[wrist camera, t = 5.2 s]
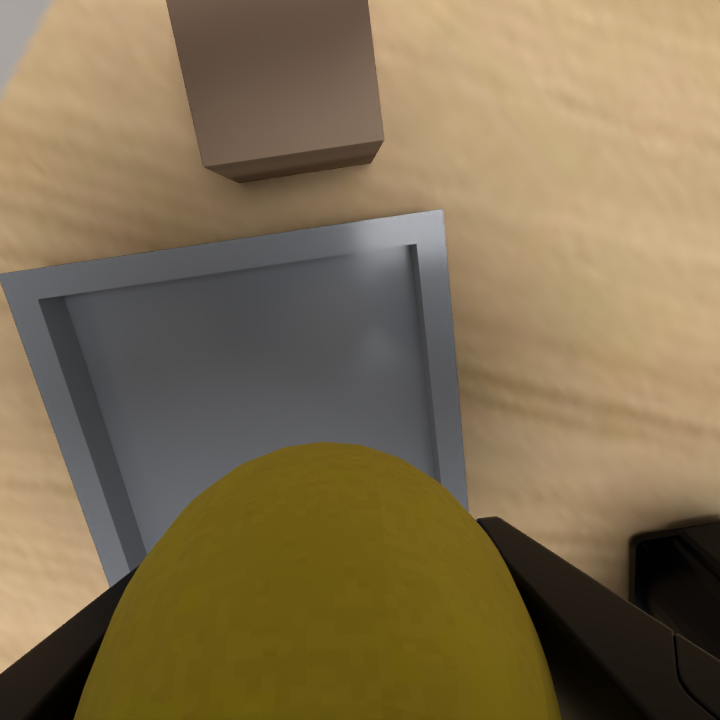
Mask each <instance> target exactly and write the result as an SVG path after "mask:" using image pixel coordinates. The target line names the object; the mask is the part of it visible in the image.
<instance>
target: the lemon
mask: <svg viewBox="0 0 720 720" xmlns="http://www.w3.org/2000/svg"><path fill="white" fill-rule="evenodd" d="M73 720H562V719H561V714H560V709H559V705H558V700H557V696H556V692H555V688H554V685H553V681H552V677H551V674H550V670H549V667H548V663H547V660H546V657H545V654H544V651H543V648H542V645H541V643H540V640H539V637H538V634H537V632H536V629H535V627H534V625H533V622H532V620H531V618H530V615H529V613H528V611H527V608H526V606H525V604H524V602H523V600H522V598H521V595H520V593H519V591H518V589H517V587H516V584H515V582H514V580H513V578H512V576H511V574H510V571H509V569H508V567H507V566H506V564H505V562H504V560H503V558H502V556H501V555H500V553H499V551H498V549H497V548H496V546H495V545H494V543H493V542H492V541H491V539H490V538H489V536H488V535H487V533H486V532H485V531H484V530H483V529H482V527H481V526H480V525H479V524H478V523H477V522H476V520H475V519H474V518H473V517H472V516H471V515H470V514H469V513H468V512H467V511H466V509H465V508H464V507H463V506H462V505H461V504H460V503H459V502H458V501H457V499H456V498H455V497H454V496H453V495H452V494H451V493H450V492H449V491H448V490H447V489H446V488H445V487H444V486H443V485H441V484H440V483H439V482H438V481H436V480H435V479H433V478H432V477H430V476H428V475H427V474H425V473H424V472H422V471H421V470H419V469H417V468H416V467H414V466H413V465H411V464H410V463H408V462H406V461H405V460H403V459H401V458H399V457H397V456H394V455H391V454H388V453H385V452H382V451H379V450H376V449H373V448H370V447H367V446H364V445H358V444H346V443H334V442H316V443H309V444H303V445H296V446H289V447H283V448H281V449H278V450H276V451H273V452H270V453H268V454H265V455H263V456H260V457H258V458H255V459H253V460H250V461H248V462H245V463H243V464H241V465H239V466H238V467H236V468H235V469H233V470H232V471H231V472H229V473H228V474H226V475H225V476H224V477H222V478H221V479H219V480H218V481H217V482H215V483H214V484H212V485H211V486H210V487H208V488H207V489H205V490H204V491H203V492H202V493H201V494H199V495H198V496H197V497H196V498H194V499H193V500H192V501H191V502H190V503H189V504H188V506H187V507H186V508H185V509H184V510H183V511H182V512H181V513H180V514H179V516H178V517H177V518H176V519H175V521H174V522H173V523H172V524H171V526H170V527H169V528H168V529H167V531H166V532H165V533H164V534H163V536H162V537H161V538H160V539H159V541H158V542H157V543H156V544H155V545H154V547H153V548H152V549H151V551H150V552H149V553H148V555H147V556H146V557H145V559H144V560H143V561H142V563H141V564H140V566H139V567H138V569H137V570H136V572H135V574H134V575H133V577H132V579H131V580H130V582H129V584H128V585H127V587H126V589H125V591H124V593H123V595H122V597H121V599H120V601H119V603H118V605H117V607H116V609H115V611H114V614H113V616H112V619H111V621H110V624H109V626H108V629H107V631H106V634H105V636H104V639H103V641H102V644H101V646H100V649H99V651H98V654H97V656H96V659H95V661H94V664H93V666H92V669H91V671H90V674H89V676H88V679H87V681H86V684H85V686H84V689H83V692H82V695H81V698H80V701H79V704H78V707H77V710H76V713H75V716H74V719H73Z"/></svg>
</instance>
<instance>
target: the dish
mask: <svg viewBox="0 0 720 720" xmlns="http://www.w3.org/2000/svg"><path fill="white" fill-rule="evenodd" d="M0 282H1V285H2V287H3V290H4V293H5V296H6V299H7V301H8V304H9V307H10V310H11V312H12V315H13V318H14V321H15V324H16V326H17V329H18V332H19V335H20V338H21V340H22V343H23V346H24V349H25V352H26V354H27V357H28V360H29V363H30V366H31V368H32V371H33V374H34V377H35V379H36V382H37V385H38V388H39V391H40V393H41V396H42V399H43V402H44V405H45V407H46V410H47V413H48V416H49V419H50V421H51V424H52V427H53V430H54V433H55V435H56V438H57V441H58V444H59V446H60V449H61V452H62V455H63V458H64V460H65V463H66V466H67V469H68V472H69V474H70V477H71V480H72V483H73V486H74V488H75V491H76V494H77V497H78V500H79V502H80V505H81V508H82V511H83V513H84V516H85V519H86V522H87V525H88V527H89V530H90V533H91V536H92V539H93V541H94V544H95V547H96V550H97V553H98V555H99V558H100V561H101V564H102V567H103V569H104V572H105V575H106V578H107V580H108V583H109V586H110V587H112V586H113V585H114V584H115V583H117V582H118V581H119V580H121V579H122V578H123V577H124V576H126V575H127V574H128V573H129V572H131V571H132V570H133V569H135V568H136V567H137V566H138V565H140V564H141V563H142V561H143V560H144V559H145V557H146V556H147V555H148V553H149V552H150V551H151V549H152V548H153V547H154V545H155V544H156V543H157V542H158V541H159V539H160V538H161V537H162V536H163V534H164V533H165V532H166V531H167V529H168V528H169V527H170V526H171V524H172V523H173V522H174V521H175V519H176V518H177V517H178V516H179V514H180V513H181V512H182V511H183V510H184V509H185V508H186V507H187V506H188V504H189V503H190V502H191V501H192V500H193V499H194V498H196V497H197V496H198V495H199V494H201V493H202V492H203V491H204V490H205V489H207V488H208V487H210V486H211V485H212V484H214V483H215V482H217V481H218V480H219V479H221V478H222V477H224V476H225V475H226V474H228V473H229V472H231V471H232V470H233V469H235V468H236V467H238V466H239V465H241V464H243V463H245V462H248V461H250V460H253V459H255V458H258V457H260V456H263V455H265V454H268V453H270V452H273V451H276V450H278V449H281V448H283V447H289V446H296V445H303V444H309V443H316V442H334V443H346V444H358V445H364V446H367V447H370V448H373V449H376V450H379V451H382V452H385V453H388V454H391V455H394V456H397V457H399V458H401V459H403V460H405V461H406V462H408V463H410V464H411V465H413V466H414V467H416V468H417V469H419V470H421V471H422V472H424V473H425V474H427V475H428V476H430V477H432V478H433V479H435V480H436V481H438V482H439V483H440V484H441V485H443V486H444V487H445V488H446V489H447V490H448V491H449V492H450V493H451V494H452V495H453V496H454V497H455V498H456V499H457V501H458V502H459V503H460V504H461V505H462V506H463V507H464V508H465V509H466V511H467V512H468V513H469V509H468V497H467V485H466V473H465V462H464V450H463V438H462V426H461V415H460V403H459V391H458V379H457V368H456V356H455V344H454V332H453V321H452V309H451V297H450V286H449V274H448V262H447V250H446V239H445V227H444V215H443V209H439V210H432V211H425V212H419V213H412V214H405V215H398V216H391V217H384V218H378V219H371V220H364V221H357V222H350V223H343V224H337V225H330V226H323V227H316V228H309V229H302V230H296V231H289V232H282V233H275V234H268V235H261V236H255V237H248V238H241V239H234V240H227V241H220V242H214V243H207V244H200V245H193V246H186V247H179V248H173V249H166V250H159V251H152V252H145V253H139V254H132V255H125V256H118V257H111V258H104V259H98V260H91V261H84V262H77V263H70V264H63V265H57V266H50V267H43V268H36V269H29V270H22V271H16V272H9V273H2V274H0Z"/></svg>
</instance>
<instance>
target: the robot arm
mask: <svg viewBox="0 0 720 720" xmlns="http://www.w3.org/2000/svg"><path fill="white" fill-rule="evenodd" d="M476 522H477V523H478V524H479V525H480V526H481V527H482V529H483V530H484V531H485V532H486V533H487V535H488V536H489V538H490V539H491V541H492V542H493V543H494V545H495V546H496V548H497V549H498V551H499V553H500V555H501V556H502V558H503V560H504V562H505V564H506V566H507V567H508V569H509V571H510V574H511V576H512V578H513V580H514V582H515V584H516V587H517V589H518V591H519V593H520V595H521V598H522V600H523V602H524V604H525V606H526V608H527V611H528V613H529V615H530V618H531V620H532V622H533V625H534V627H535V629H536V632H537V634H538V637H539V640H540V643H541V645H542V648H543V651H544V654H545V657H546V660H547V663H548V667H549V670H550V674H551V677H552V681H553V685H554V688H555V692H556V696H557V700H558V705H559V709H560V714H561V719H562V720H720V522H719V523H713V524H706V525H699V526H693V527H686V528H680V529H673V530H667V531H660V532H654V533H647V534H641V535H638V536H636V537H635V538H633V540H632V541H631V549H630V582H629V602H628V601H627V600H625V599H624V598H622V597H621V596H619V595H618V594H616V593H615V592H613V591H612V590H610V589H608V588H607V587H605V586H604V585H602V584H601V583H599V582H598V581H596V580H595V579H593V578H592V577H590V576H588V575H587V574H585V573H584V572H582V571H581V570H579V569H578V568H576V567H575V566H573V565H572V564H570V563H569V562H567V561H565V560H564V559H562V558H561V557H559V556H558V555H556V554H555V553H553V552H552V551H550V550H549V549H547V548H545V547H544V546H542V545H541V544H539V543H538V542H536V541H535V540H533V539H532V538H530V537H529V536H527V535H525V534H524V533H522V532H521V531H519V530H518V529H516V528H515V527H513V526H512V525H510V524H509V523H507V522H505V521H504V520H502V519H501V518H499V517H487V518H479V519H477V520H476ZM643 545H644V546H643ZM642 546H643V547H642ZM139 566H140V565H138V566H137V567H136V568H135V569H133V570H132V571H131V572H129V573H128V574H127V575H126V576H124V577H123V578H122V579H121V580H119V581H118V582H117V583H115V584H114V585H113V586H112V587H110V588H109V589H108V590H107V591H105V592H104V593H103V594H102V595H100V596H99V597H98V598H96V599H95V600H94V601H93V602H91V603H90V604H89V605H88V606H86V607H85V608H84V609H82V610H81V611H80V612H79V613H77V614H76V615H75V616H74V617H72V618H71V619H70V620H68V621H67V622H66V623H65V624H63V625H62V626H61V627H60V628H58V629H57V630H56V631H54V632H53V633H52V634H51V635H49V636H48V637H47V638H46V639H44V640H43V641H42V642H40V643H39V644H38V645H37V646H35V647H34V648H33V649H31V650H30V651H29V652H28V653H26V654H25V655H24V656H23V657H21V658H20V659H19V660H17V661H16V662H15V663H14V664H12V665H11V666H10V667H9V668H7V669H6V670H5V671H3V672H2V673H1V674H0V720H73V719H74V716H75V713H76V710H77V707H78V704H79V701H80V698H81V695H82V692H83V689H84V686H85V684H86V681H87V679H88V676H89V674H90V671H91V669H92V666H93V664H94V661H95V659H96V656H97V654H98V651H99V649H100V646H101V644H102V641H103V639H104V636H105V634H106V631H107V629H108V626H109V624H110V621H111V619H112V616H113V614H114V611H115V609H116V607H117V605H118V603H119V601H120V599H121V597H122V595H123V593H124V591H125V589H126V587H127V585H128V584H129V582H130V580H131V579H132V577H133V575H134V574H135V572H136V570H137V569H138V567H139Z"/></svg>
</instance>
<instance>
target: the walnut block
mask: <svg viewBox="0 0 720 720" xmlns="http://www.w3.org/2000/svg"><path fill="white" fill-rule="evenodd" d="M166 2H167V7H168V11H169V16H170V20H171V25H172V29H173V34H174V38H175V43H176V47H177V51H178V56H179V60H180V65H181V69H182V74H183V78H184V83H185V87H186V92H187V96H188V101H189V105H190V110H191V114H192V119H193V123H194V128H195V132H196V136H197V141H198V145H199V150H200V154H201V159H202V163H203V167H205V168H207V169H209V170H211V171H214V172H216V173H218V174H220V175H222V176H225V177H227V178H229V179H231V180H234V181H236V182H238V183H242V182H249V181H256V180H262V179H269V178H276V177H282V176H289V175H296V174H302V173H309V172H316V171H322V170H329V169H336V168H342V167H349V166H355V165H362V164H369V163H371V162H372V160H373V159H374V157H375V155H376V153H377V152H378V150H379V148H380V146H381V145H382V143H383V141H384V134H383V125H382V117H381V108H380V100H379V92H378V83H377V75H376V66H375V58H374V50H373V41H372V33H371V24H370V16H369V8H368V0H166Z"/></svg>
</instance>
